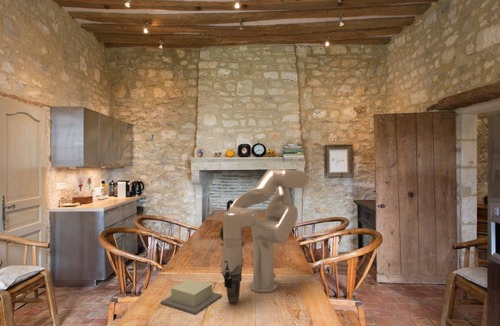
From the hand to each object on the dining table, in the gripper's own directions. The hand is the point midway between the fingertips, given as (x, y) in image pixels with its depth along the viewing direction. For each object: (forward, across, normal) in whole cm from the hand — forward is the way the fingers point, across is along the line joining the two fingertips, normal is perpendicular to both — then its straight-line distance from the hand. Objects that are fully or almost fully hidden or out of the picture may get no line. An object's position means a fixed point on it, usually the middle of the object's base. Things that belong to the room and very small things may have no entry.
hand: (233, 283), depth 135 cm
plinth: (+8, +7, -16) cm, 19 cm away
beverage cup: (+7, 0, 0) cm, 7 cm away
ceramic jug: (+10, -72, -47) cm, 87 cm away
